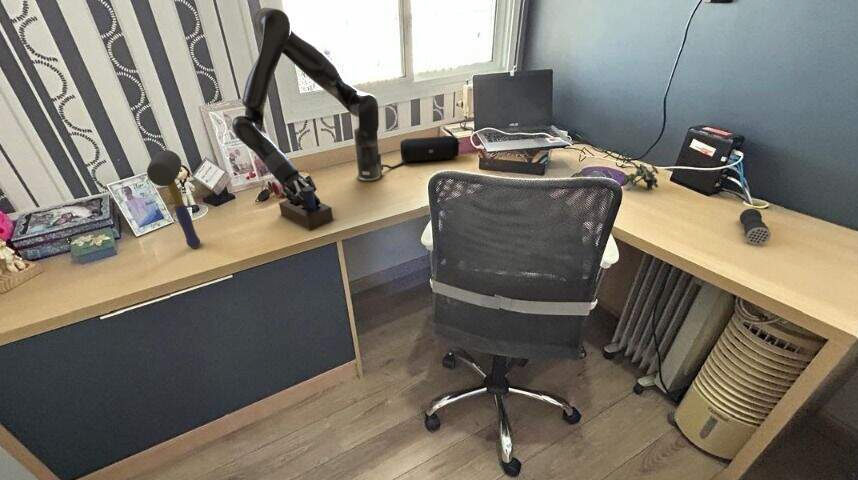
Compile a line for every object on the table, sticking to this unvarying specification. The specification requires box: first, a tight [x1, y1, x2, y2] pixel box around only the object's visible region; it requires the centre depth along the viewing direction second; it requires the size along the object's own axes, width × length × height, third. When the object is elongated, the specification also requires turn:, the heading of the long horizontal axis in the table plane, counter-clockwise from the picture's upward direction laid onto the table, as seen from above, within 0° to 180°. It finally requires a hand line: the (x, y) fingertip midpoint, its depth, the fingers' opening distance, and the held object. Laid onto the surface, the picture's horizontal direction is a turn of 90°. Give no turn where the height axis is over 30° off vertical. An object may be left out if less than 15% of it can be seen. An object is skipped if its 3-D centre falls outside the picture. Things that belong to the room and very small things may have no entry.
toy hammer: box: [270, 179, 284, 198], centre depth 160 cm, size 23×12×6 cm, turn 43°
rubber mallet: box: [146, 149, 201, 249], centre depth 126 cm, size 12×8×30 cm, turn 14°
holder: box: [278, 198, 334, 231], centre depth 147 cm, size 10×18×5 cm, turn 46°
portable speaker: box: [399, 135, 460, 163], centre depth 188 cm, size 26×10×10 cm, turn 96°
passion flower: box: [619, 163, 659, 190], centre depth 155 cm, size 11×11×12 cm
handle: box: [301, 187, 317, 213], centre depth 142 cm, size 4×4×12 cm
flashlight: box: [739, 208, 772, 246], centre depth 127 cm, size 15×5×5 cm, turn 154°
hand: (314, 206), depth 142 cm, fingers closed on handle, 4 cm apart
